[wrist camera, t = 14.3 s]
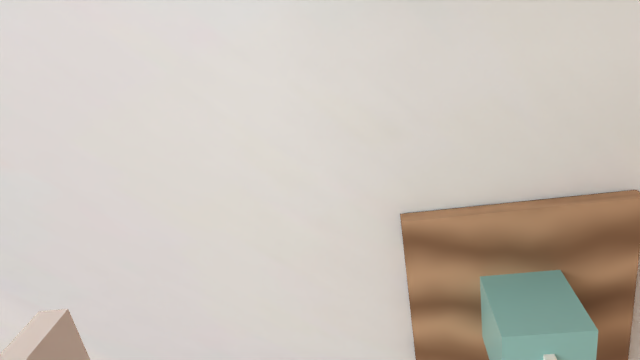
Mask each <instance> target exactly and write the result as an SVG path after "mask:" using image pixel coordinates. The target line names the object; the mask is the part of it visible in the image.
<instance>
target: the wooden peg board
mask: <svg viewBox="0 0 640 360" xmlns="http://www.w3.org/2000/svg"><path fill="white" fill-rule="evenodd" d="M400 217H401V226H402V236H403V245H404V254H405V263H406V272H407V282H408V291H409V300H410V309H411V319H412V328H413V337H414V346H415V356H416V360H489V357H488V354H487V350H486V347H485V344H484V341H483V337H482V317H481V292H480V276H492V275H503V274H515V273H527V272H539V271H551V270H561V271H562V273H563V275H564V276H565V278H566V279H567V281H568V283H569V284H570V286H571V288H572V289H573V291H574V292H575V294H576V296H577V297H578V299H579V300H580V302H581V304H582V305H583V307H584V308H585V310H586V312H587V313H588V315H589V316H590V318H591V320H592V321H593V323H594V324H595V326H596V328H597V329H598V342H597V355H596V360H628V353H629V344H630V335H631V325H632V316H633V306H634V297H635V288H636V278H637V269H638V260H639V250H640V193H639V192H638V191H637V190H630V191H620V192H611V193H601V194H591V195H581V196H572V197H562V198H552V199H542V200H533V201H523V202H513V203H503V204H494V205H484V206H474V207H464V208H455V209H445V210H435V211H425V212H416V213H406V214H400Z"/></svg>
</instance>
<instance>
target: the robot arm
mask: <svg viewBox="0 0 640 360" xmlns="http://www.w3.org/2000/svg"><path fill="white" fill-rule="evenodd" d="M0 360H90V358H89V356H88V354H87V351H86V349H85V347H84V344H83V342H82V340H81V338H80V335H79V333H78V331H77V328H76V326H75V324H74V322H73V319H72V317H71V315H70V312H69V310H68V309H61V310H49V311H39V312H38V313H37V314H36V315H35V316H34V318H33V319H32V320H31V321H30V322H29V323H28V324H27V325H26V326H25V327H24V329H23V330H22V331H21V332H20V333H19V334H18V335H17V336H16V337H15V338H14V339H13V341H12V342H11V343H10V344H9V345H8V346H7V347H6V348H5V349H4V350H3V352H2V353H1V354H0Z"/></svg>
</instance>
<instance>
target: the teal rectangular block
mask: <svg viewBox="0 0 640 360" xmlns="http://www.w3.org/2000/svg"><path fill="white" fill-rule="evenodd" d="M480 292H481V317H482V337H483V341H484V344H485V347H486V350H487V354H488V357H489V360H596V355H597V342H598V329H597V328H596V326H595V324H594V323H593V321H592V320H591V318H590V316H589V315H588V313H587V312H586V310H585V308H584V307H583V305H582V304H581V302H580V300H579V299H578V297H577V296H576V294H575V292H574V291H573V289H572V288H571V286H570V284H569V283H568V281H567V279H566V278H565V276H564V275H563V273H562V271H561V270H551V271H539V272H527V273H515V274H503V275H492V276H480Z"/></svg>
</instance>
